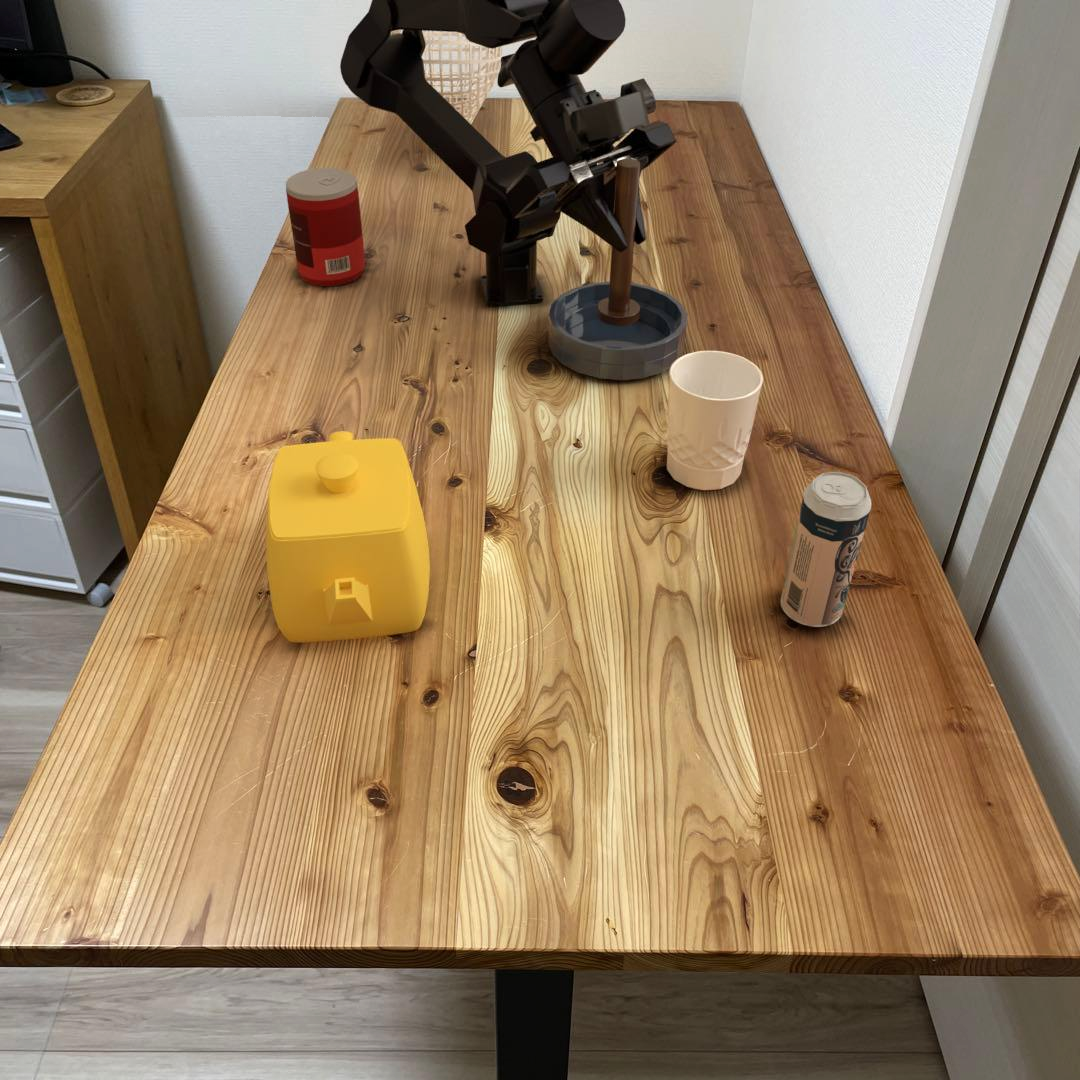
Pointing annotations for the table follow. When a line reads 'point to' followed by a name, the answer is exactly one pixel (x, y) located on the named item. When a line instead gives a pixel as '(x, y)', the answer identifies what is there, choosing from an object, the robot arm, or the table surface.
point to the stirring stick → (625, 209)
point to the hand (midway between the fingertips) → (633, 246)
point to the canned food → (326, 226)
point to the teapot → (345, 541)
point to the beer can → (825, 548)
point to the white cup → (710, 417)
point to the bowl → (616, 333)
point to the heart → (488, 74)
